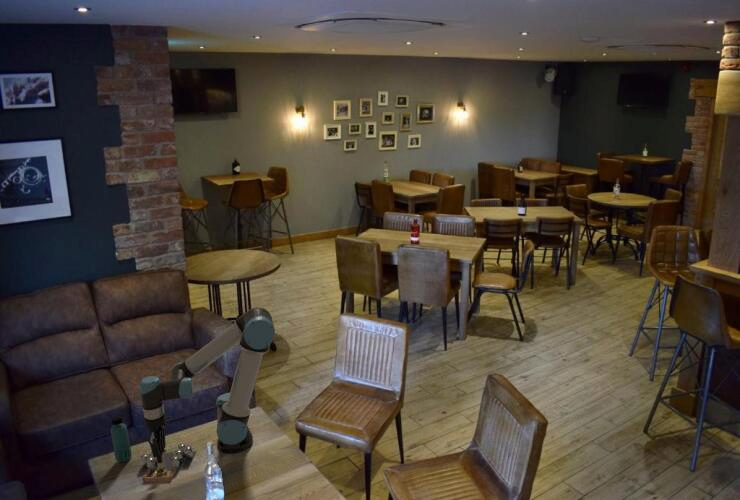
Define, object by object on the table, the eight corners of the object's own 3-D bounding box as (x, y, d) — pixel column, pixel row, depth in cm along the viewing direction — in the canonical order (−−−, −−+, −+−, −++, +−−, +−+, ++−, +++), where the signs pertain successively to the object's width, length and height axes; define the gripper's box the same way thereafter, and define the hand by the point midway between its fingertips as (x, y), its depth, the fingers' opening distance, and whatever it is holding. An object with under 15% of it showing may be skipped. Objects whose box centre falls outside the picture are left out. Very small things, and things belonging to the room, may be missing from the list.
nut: (165, 472, 234) (164, 466, 233) (168, 477, 230) (167, 472, 229) (155, 475, 232) (154, 469, 231) (157, 481, 228) (156, 475, 227)
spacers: (195, 453, 245) (193, 442, 244) (186, 470, 233) (185, 459, 232) (149, 455, 245) (147, 445, 244) (138, 472, 233) (137, 461, 232)
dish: (176, 472, 233) (176, 467, 233) (171, 482, 227) (170, 476, 227) (149, 474, 233) (148, 468, 233) (143, 484, 227) (142, 478, 227)
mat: (197, 453, 246) (197, 451, 246) (188, 471, 234) (187, 469, 234) (150, 455, 246) (150, 453, 246) (138, 474, 234) (138, 472, 234)
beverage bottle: (126, 466, 240) (119, 422, 235) (112, 464, 241) (104, 421, 236) (135, 457, 246) (128, 414, 241) (121, 455, 247) (114, 413, 243)
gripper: (150, 407, 234) (158, 459, 239) (138, 424, 221) (146, 478, 227) (169, 406, 234) (176, 458, 239) (158, 423, 221) (166, 477, 227)
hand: (162, 468), depth 233 cm, fingers closed
